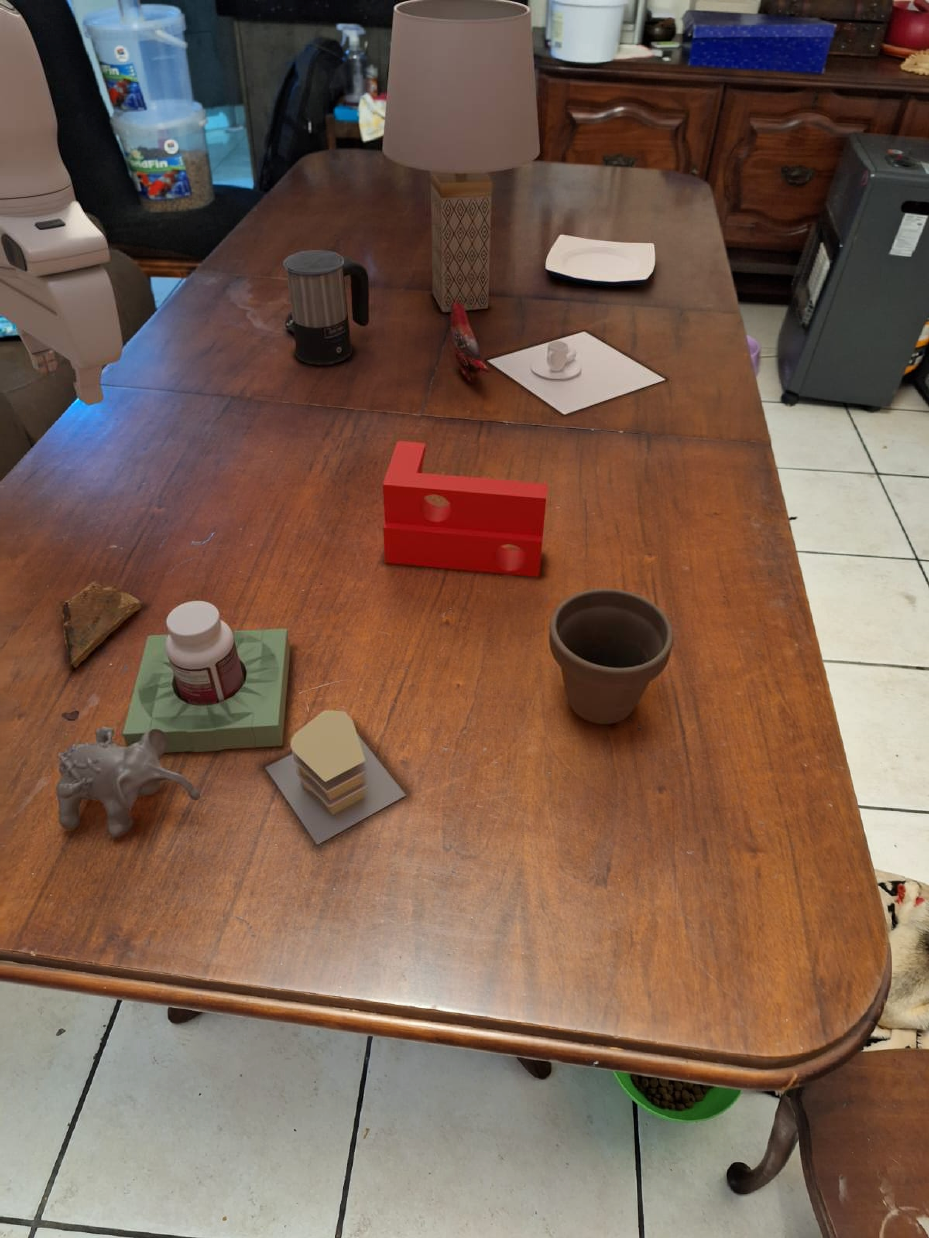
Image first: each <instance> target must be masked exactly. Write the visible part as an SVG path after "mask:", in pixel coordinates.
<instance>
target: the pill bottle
mask: <svg viewBox="0 0 929 1238" xmlns="http://www.w3.org/2000/svg"><path fill="white" fill-rule="evenodd" d="M167 615H168V616H167V618H166V623H165V624H166V627H167V632H168V634H169V635H168V634H167V635H168V637H167V640H166V652H167V656H168V659H169V662H170V665H171V668H172V671H173V674H174V677H175V680H176V683H177V686H178V689H179V692H180V699H181V700H182V701H184V702H186V703H187V704H191V705H197V706H205V705H213V704H217V703H220V702H223V701H225V700H227V699H229V698H231V697H232V696H234V695H235V694H236V693H237V692H238V691H239V690H240V689H241V688H242V687H243V685H244V683H245V680H244V676H243V672H242V669H241V665H240V661H239V657H238V653H237V649H236V645H235V641H234V637H233V634H232V631H233V630H232V629H231V628H230V626H229V625H228V624H227V623H226V622H225V621H224V620H222V619H221V616H220V615H221V614H220V612H219V610H218V608H217V607H216V606H215V604H212V603H210V602H208V601H203V600H192V601H186V602H183V603H181V604H180V605H177V606H176V607H174V608H173V609H172V610H171V611H170V612H169V613H168V614H167Z"/></svg>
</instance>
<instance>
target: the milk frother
mask: <svg viewBox="0 0 929 1238" xmlns="http://www.w3.org/2000/svg"><path fill="white" fill-rule="evenodd" d="M282 266H283V268H284V269H285V273H286V281H287V287H288V294H289V295H288V296H289V303H290V309H291V310H290V311H291V312H289V313H288V314H287V316H286V317H285V320H284V325H285V328H286V330H287V331H289V333H291V334H293V335H294V343H295V350H294V355H295V357H296V359H297V360H298V361H300V362H302V363H304V364H308V365H312V366H329V365H335V364H339V363H341V362H343V361H346V360H347V359H348V358H349V357H350V356H351V355H352V354H353V347H352V344H351V338H350V335H351V331H350V322H349V321H350V320H349V312H348V302H347V294H346V281H345V277H348V276H350V295H351V296H350V297H351V315H352V316H351V317H352V321H353V322H354V323H355V324H357V325H358V326H361V327H366V326H368V324H369V321H370V302H369V301H370V288H369V286H370V285H369V283H370V282H369V274H368V272H367V269H366V268H365V267H364V265H363V264H361V263H360V262H358V261H357V260H355V259H352V258H349V257H343V256H342V255H340V254H339V253H337V252H334V251H330V250H324V249H322V250H321V249H314V250H313V249H311V250H304V251H299V252H295V253H293V254H291V255H289V256H287V257H286V258H285V259H284V260H283V262H282Z"/></svg>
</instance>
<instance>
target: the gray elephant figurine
mask: <svg viewBox="0 0 929 1238" xmlns="http://www.w3.org/2000/svg"><path fill="white" fill-rule="evenodd" d="M94 734H95V737H96V742H91V743H89V742H88V741H85V742H84V743H81V744H80V743H79V744H77V743H72V744H71V745H70V746H69V747H68V748H67V749H66V750H64V751H63V753H62V752H61V753H60V752H59V753H58V754H57V758H58V759H59V761H60V762H58V766H59V772H60V773H59V774H60V778H59V779H58V781H57V783H56V789H55V790H56V795H57V796H56V797H57V802H58V822H59V824H60V826H61V827H62V828H63V829H64V830H66V831H74V830H76V829H77V827H78V826H79V824H80V806H81V803H82V801H83V800H88V799H90V801H99V802H100V803H101V804H102V805H103V807H104V809H105V812H106V815H107V818H108V820H107V831H108V834H109V836H111V837H112V838H119V837H122V836H123V835H125V834H126V833H128V832H129V831H130V830H131V829H132V827H133V825H134V821H133V819H132V817H131V816H130V813H131V809H132V808H133V806H134V805H135V802H136V801H137V798H138V797H148V796H151V795H154V794H155V793H157V792H158V791H159V790H160V789H161V783H162V781H172V782H174V783H177V784H179V785H180V786H181V787H182V788H183V789H185V790H186V792H187V795H188V796H189V798H190V799H191V800H193V801H199V800H200V798H201V792H200V790H199V789H198V788H197V787H195V786H194V785H193V783H192V782H191V780H189V779H188V778H186V776H184V775H182V774H180V773H178V772H176V771H173V770H169V769H166V768H164V767H163V766H162V765H161V763H160V759H161V758H162V756H163V755H164V754H165V753H164V751H165V749H166V746H167V744H168V737H167V735H166V734H165V732H163V731H162V730H159V729H151V730H149V731H147V732H146V733H145V734H144V735H143V736H142V738H141V740H140V741H139V742H136V743H134V744H132V745H130V746H128V747H127V746H121V745H117V744H116V743H114V742H113V737H114V734H115V729H114V728H113V727H107V726H101V727H100V728H97V729H96V730H94Z"/></svg>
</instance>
